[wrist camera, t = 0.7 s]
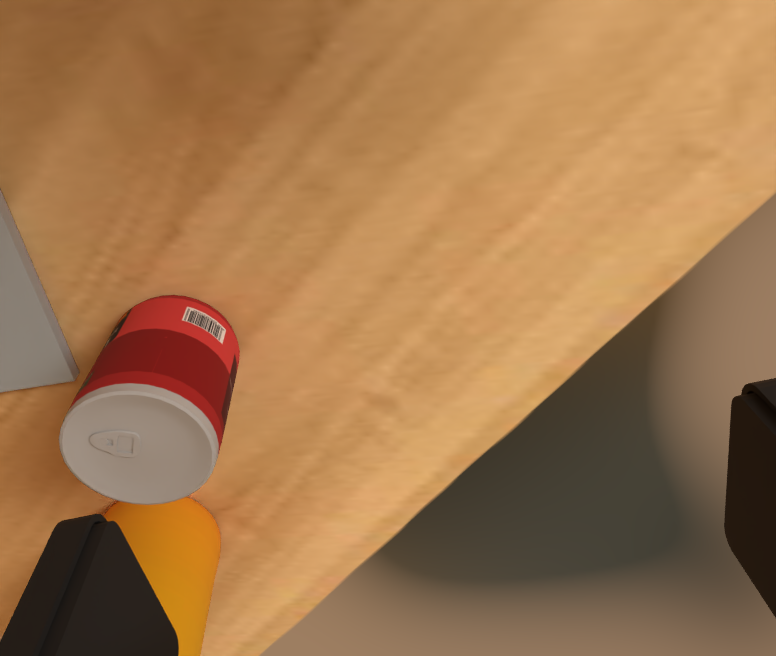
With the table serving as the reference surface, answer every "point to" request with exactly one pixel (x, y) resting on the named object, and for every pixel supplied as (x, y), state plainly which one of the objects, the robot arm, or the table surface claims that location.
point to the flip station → (27, 319)
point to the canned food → (154, 403)
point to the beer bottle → (175, 560)
